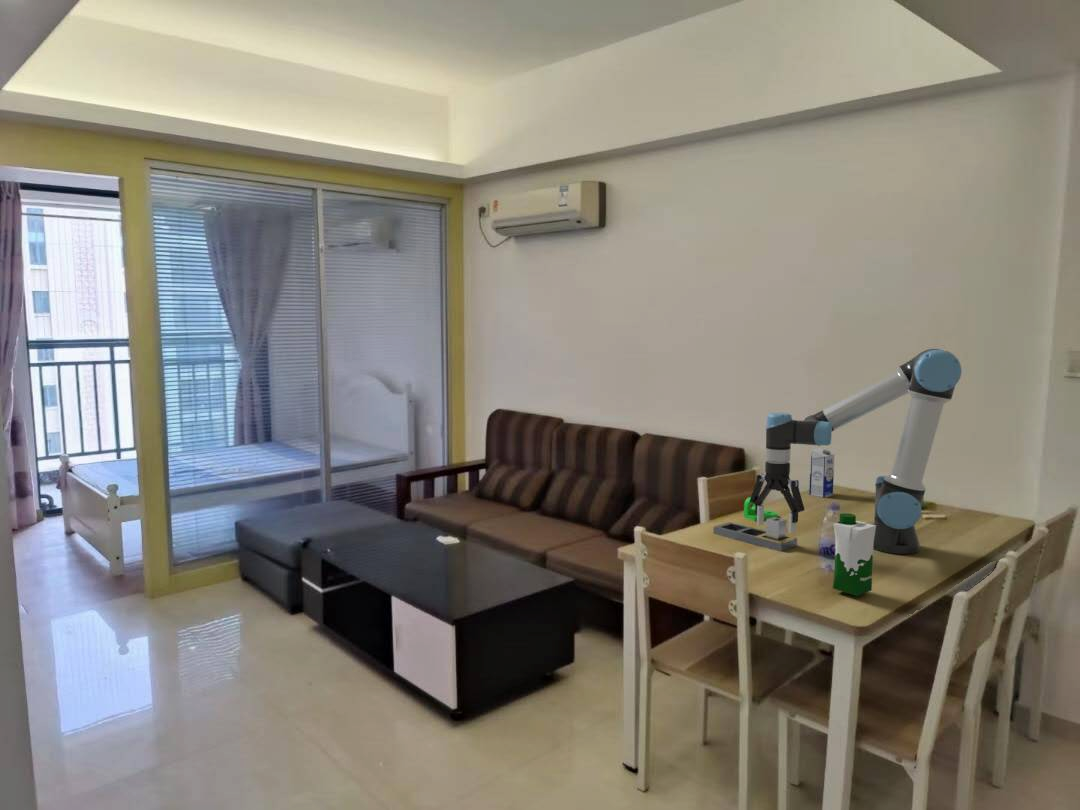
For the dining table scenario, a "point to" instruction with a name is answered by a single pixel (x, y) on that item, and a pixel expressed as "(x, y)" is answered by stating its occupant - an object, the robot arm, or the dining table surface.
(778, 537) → the block
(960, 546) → the dining table surface
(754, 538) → the grey slotted tray
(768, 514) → the mechanical part
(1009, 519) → the dining table surface
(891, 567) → the dining table surface
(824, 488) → the milk carton
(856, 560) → the soya milk
